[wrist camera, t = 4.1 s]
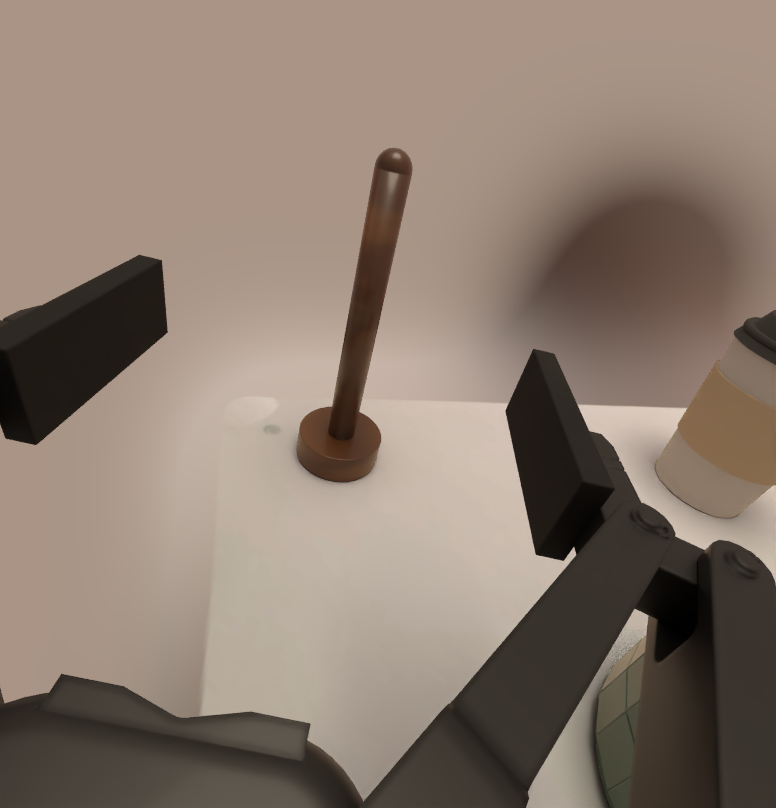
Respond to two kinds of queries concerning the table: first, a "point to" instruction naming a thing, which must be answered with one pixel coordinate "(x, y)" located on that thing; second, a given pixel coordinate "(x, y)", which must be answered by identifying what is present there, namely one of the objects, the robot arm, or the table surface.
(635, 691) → the bowl
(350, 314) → the paper towel holder
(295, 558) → the table surface
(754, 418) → the coffee cup
